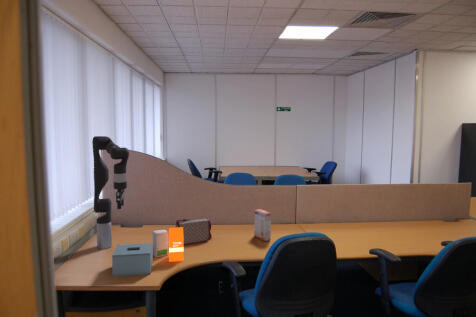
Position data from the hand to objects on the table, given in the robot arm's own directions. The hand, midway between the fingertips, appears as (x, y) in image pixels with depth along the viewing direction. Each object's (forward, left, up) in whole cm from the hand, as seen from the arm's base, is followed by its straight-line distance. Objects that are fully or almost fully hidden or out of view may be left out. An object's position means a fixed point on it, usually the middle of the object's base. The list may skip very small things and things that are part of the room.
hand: (120, 207), depth 189 cm
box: (+14, +9, -33) cm, 37 cm away
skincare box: (-5, +23, -33) cm, 41 cm away
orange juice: (+3, +33, -33) cm, 47 cm away
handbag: (-27, +46, -33) cm, 63 cm away
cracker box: (-26, +97, -33) cm, 106 cm away
